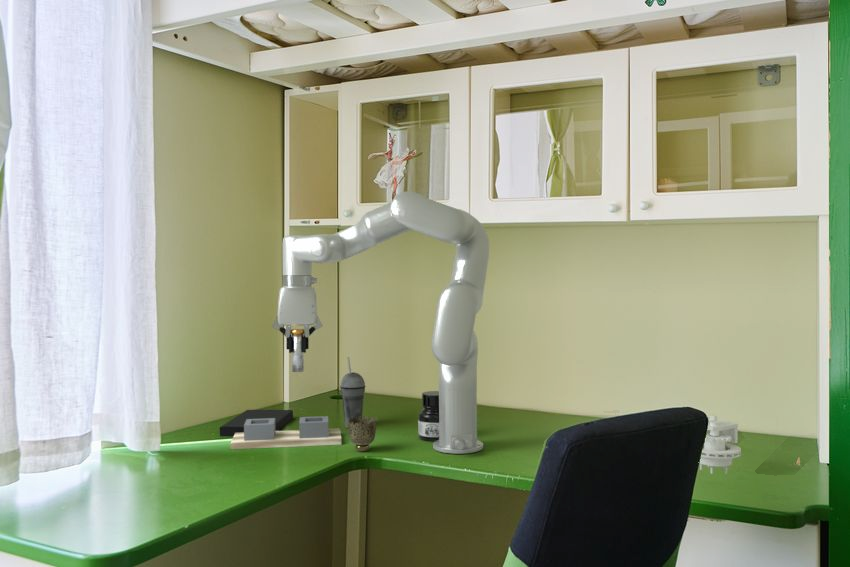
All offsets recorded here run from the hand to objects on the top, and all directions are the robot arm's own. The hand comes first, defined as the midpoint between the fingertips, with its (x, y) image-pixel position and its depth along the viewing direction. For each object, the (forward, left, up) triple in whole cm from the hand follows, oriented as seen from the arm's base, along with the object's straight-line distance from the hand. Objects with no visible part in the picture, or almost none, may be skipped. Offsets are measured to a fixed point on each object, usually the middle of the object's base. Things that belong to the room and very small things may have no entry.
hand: (297, 351), depth 202 cm
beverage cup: (+14, -15, -24) cm, 31 cm away
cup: (-13, -16, -24) cm, 32 cm away
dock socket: (0, +10, -22) cm, 24 cm away
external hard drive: (+19, +12, -24) cm, 33 cm away
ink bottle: (-3, -36, -24) cm, 43 cm away
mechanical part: (-44, -93, -24) cm, 106 cm away
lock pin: (0, 0, -5) cm, 5 cm away
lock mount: (0, -4, -22) cm, 23 cm away
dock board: (0, +3, -24) cm, 24 cm away
